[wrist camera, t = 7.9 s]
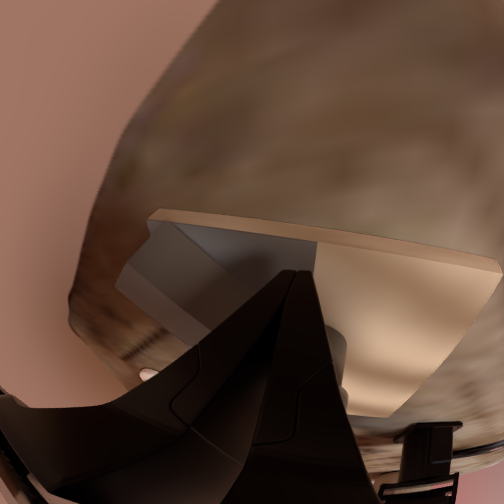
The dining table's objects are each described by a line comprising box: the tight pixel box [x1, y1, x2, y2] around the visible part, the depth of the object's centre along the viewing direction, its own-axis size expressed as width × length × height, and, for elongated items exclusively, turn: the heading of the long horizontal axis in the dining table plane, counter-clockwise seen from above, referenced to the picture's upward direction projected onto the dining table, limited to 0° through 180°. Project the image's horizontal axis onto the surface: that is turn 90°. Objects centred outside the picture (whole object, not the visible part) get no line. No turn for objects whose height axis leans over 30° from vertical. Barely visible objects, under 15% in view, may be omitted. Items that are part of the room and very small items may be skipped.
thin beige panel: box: [146, 208, 503, 418], centre depth 15 cm, size 16×16×1 cm
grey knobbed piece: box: [114, 221, 349, 409], centre depth 13 cm, size 11×9×3 cm
